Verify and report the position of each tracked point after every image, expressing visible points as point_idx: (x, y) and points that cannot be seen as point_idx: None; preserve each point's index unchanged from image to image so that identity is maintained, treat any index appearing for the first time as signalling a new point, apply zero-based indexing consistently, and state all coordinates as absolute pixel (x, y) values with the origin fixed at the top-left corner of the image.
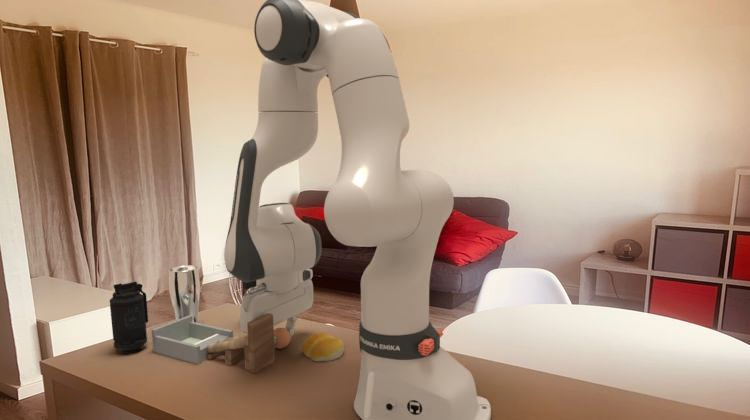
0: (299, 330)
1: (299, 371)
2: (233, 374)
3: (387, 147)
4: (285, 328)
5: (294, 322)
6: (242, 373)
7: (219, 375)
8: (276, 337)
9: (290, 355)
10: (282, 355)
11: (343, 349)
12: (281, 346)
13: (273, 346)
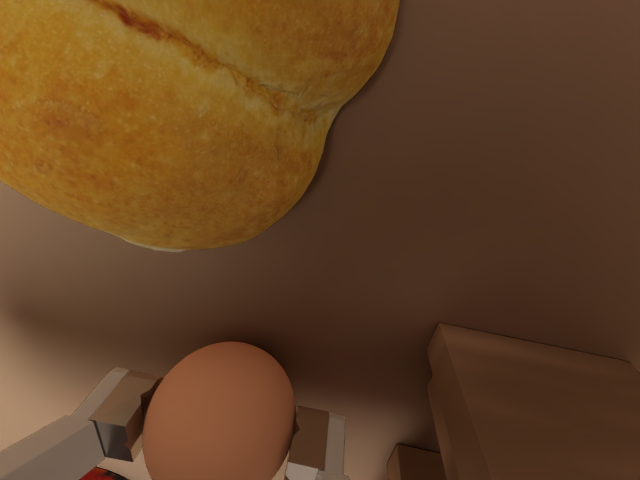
0: (10, 352)
1: (622, 75)
2: None
3: None
4: (124, 452)
5: (20, 458)
6: None
7: None
8: (292, 455)
9: (324, 274)
10: (338, 317)
11: None
12: (278, 365)
13: (489, 431)
